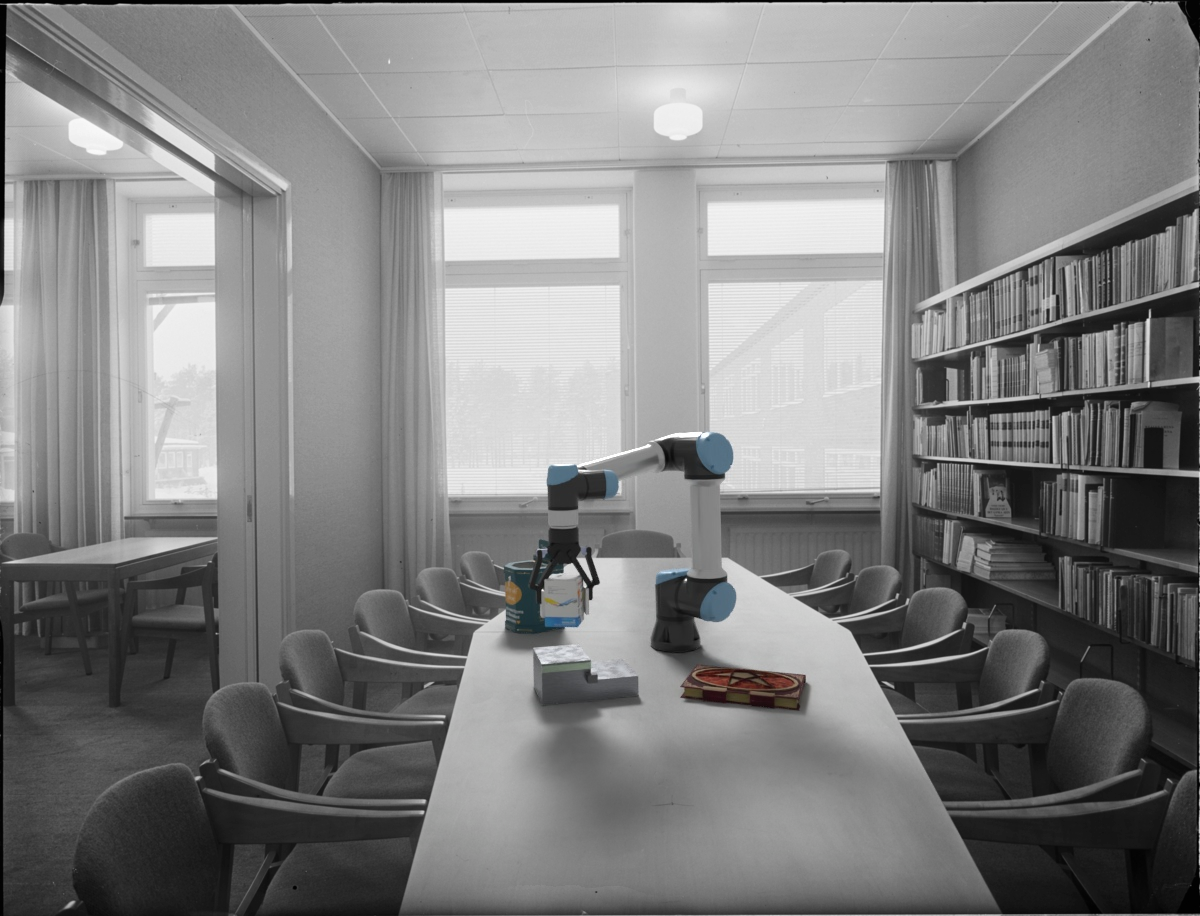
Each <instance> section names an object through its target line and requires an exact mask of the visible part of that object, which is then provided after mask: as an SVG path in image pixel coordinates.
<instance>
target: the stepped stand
mask: <svg viewBox="0 0 1200 916" xmlns="http://www.w3.org/2000/svg"><path fill="white" fill-rule="evenodd" d="M532 656H533V657H532V659H533V666H532V667H533V687H534V690H535V692H536V695H537V696H538V699H539V701H540V704H541V705H542V706H543V707H544V706H551V705H561V704H571V703H580V702H590V701H591V702H592V701H601V700H602V701H603V700H609V699H611V700H612V699H620V698H630V697H638V696H639V694H640V693H639V692H640V691H639V675H638V673H636V671H634V669H633V668H632V667H631V666H630V665H629V664H628V663H627V661H626V660H625V659H624V658H620V659H617V658H616V659H610V660H609V659H608V660H597V661H591V658H590V657H589V656H588V655H587V653H586V651H585V650H584V649H583V648H582V646H581V645H580V644H579V643H574V644H561V645H552V646H551V645H550V646H539V647H532Z"/></svg>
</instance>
